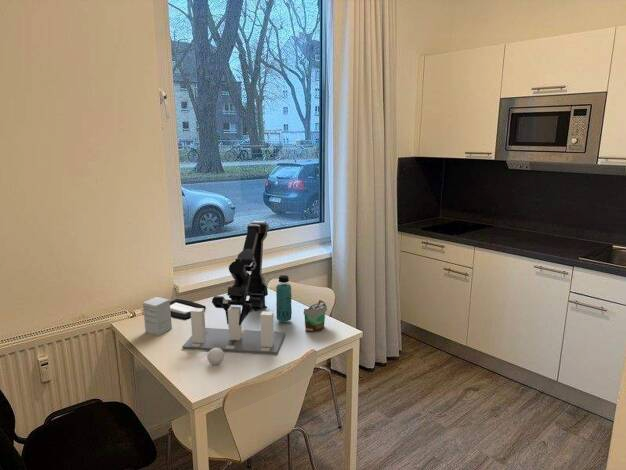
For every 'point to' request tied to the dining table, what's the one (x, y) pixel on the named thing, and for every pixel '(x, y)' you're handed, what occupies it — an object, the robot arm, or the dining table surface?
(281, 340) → the three pillar stand
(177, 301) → the light switch
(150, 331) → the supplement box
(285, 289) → the beverage bottle
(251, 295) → the robot arm
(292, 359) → the dining table surface
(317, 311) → the food container
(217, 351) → the white sphere
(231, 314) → the block
